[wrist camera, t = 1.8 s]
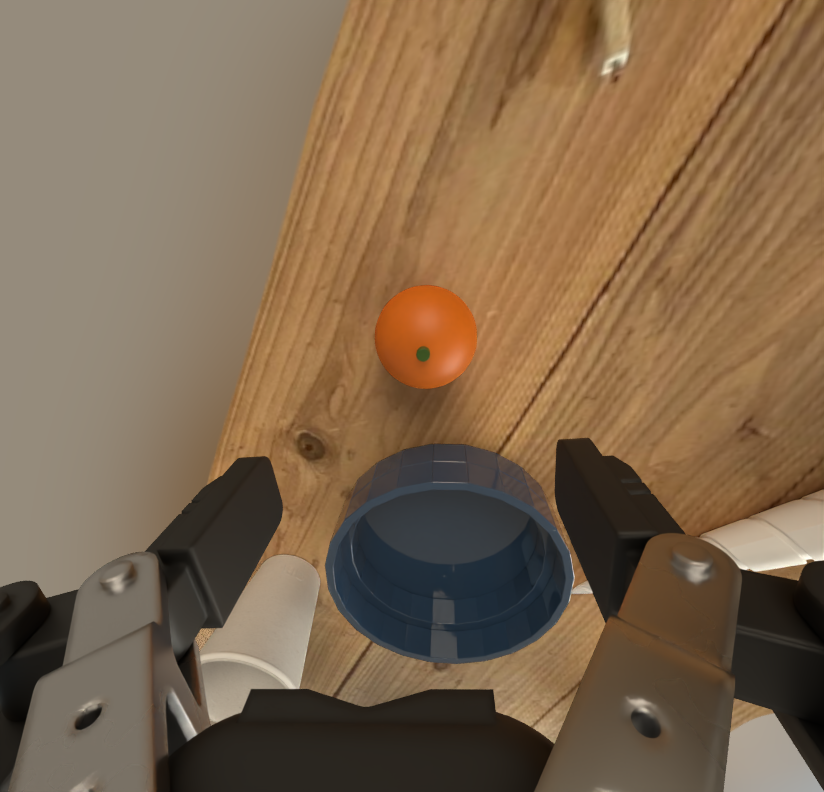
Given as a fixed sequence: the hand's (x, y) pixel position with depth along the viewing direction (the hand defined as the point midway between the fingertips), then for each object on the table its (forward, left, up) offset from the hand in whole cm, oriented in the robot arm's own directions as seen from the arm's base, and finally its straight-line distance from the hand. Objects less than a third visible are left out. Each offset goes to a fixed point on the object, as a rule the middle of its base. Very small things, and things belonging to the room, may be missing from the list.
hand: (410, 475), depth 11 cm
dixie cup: (+26, -6, -17) cm, 31 cm away
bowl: (+16, +6, -16) cm, 23 cm away
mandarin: (0, 0, -13) cm, 13 cm away
